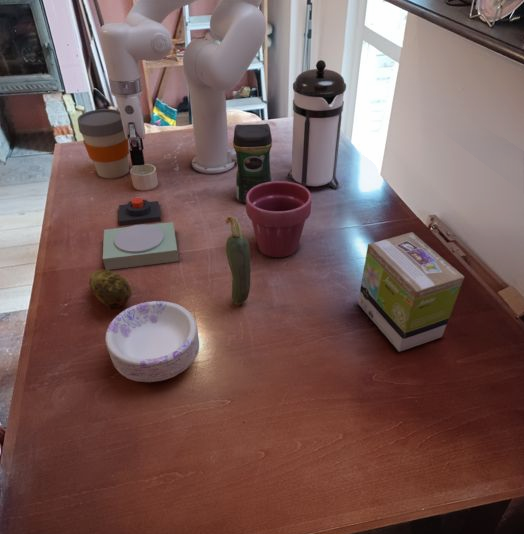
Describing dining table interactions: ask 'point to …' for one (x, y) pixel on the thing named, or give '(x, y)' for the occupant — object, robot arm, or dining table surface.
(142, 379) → the paper bowls
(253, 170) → the coffee jar
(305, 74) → the coffee press
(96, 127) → the reusable coffee cup
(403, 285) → the tea box
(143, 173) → the bowl
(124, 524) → the dining table surface
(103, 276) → the potato
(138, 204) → the tare button
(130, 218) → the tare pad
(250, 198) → the flower pot
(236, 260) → the vegetable
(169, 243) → the scale
